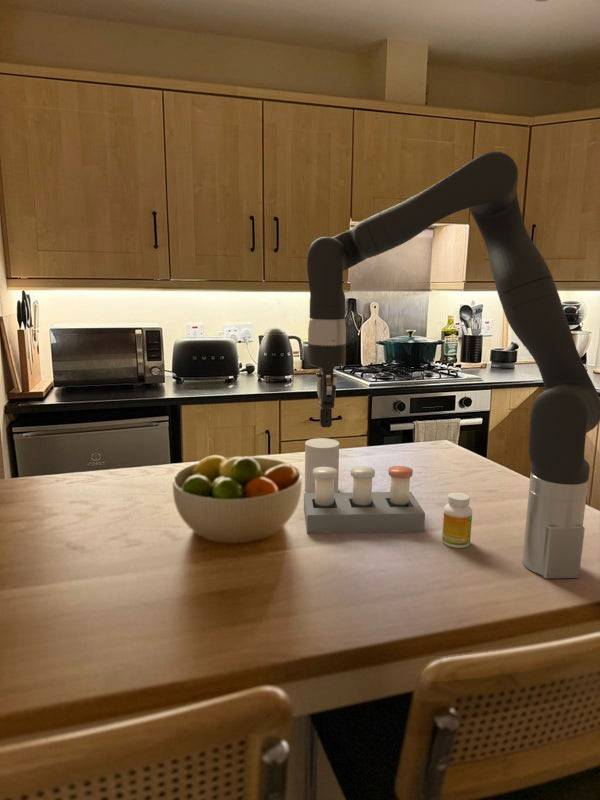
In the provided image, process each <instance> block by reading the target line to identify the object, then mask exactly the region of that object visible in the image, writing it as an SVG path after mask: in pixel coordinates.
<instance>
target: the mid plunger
mask: <svg viewBox="0 0 600 800" xmlns="http://www.w3.org/2000/svg"><path fill="white" fill-rule="evenodd" d="M350 476H351V477H352V492H353V503H355V504H357V505H368V504H371V500H372V492H373V478H374V477H375V476H376V470H375V469H374V468H373V467H370V466H362V465H361V466H354V467H352V468H351V469H350Z"/></svg>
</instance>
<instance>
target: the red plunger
mask: <svg viewBox="0 0 600 800" xmlns="http://www.w3.org/2000/svg"><path fill="white" fill-rule="evenodd" d="M413 472H414V471H413V469H412V468H411V467H409V466H404V465H393V466H389V468H388V476H390V483H389V484H390V485H389V488H390V489H389V492H390V502H391V503H394V504H398V505H404V504H407V503H409V492H410V487H411V483H410V482H411V477H413V474H414V473H413Z"/></svg>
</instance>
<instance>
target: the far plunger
mask: <svg viewBox="0 0 600 800" xmlns="http://www.w3.org/2000/svg"><path fill="white" fill-rule="evenodd" d="M313 476H314V477H315V503H316V504H318V505H322V506H328V505H332V504H333V503H334V478H335V477H336V476H337V470H336V469H335V468H332V467H317V468H315V469H313Z"/></svg>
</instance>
